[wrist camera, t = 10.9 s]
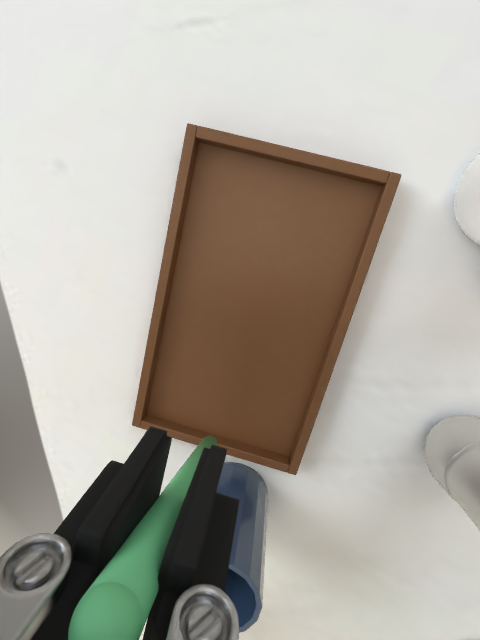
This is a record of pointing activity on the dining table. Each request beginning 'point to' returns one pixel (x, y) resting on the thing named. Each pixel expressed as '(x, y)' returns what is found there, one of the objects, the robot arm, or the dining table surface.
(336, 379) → the dining table surface
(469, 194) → the white decorative knot
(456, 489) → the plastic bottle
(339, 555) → the dining table surface
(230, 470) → the tumbler
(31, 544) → the robot arm
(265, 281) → the tray
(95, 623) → the straw
